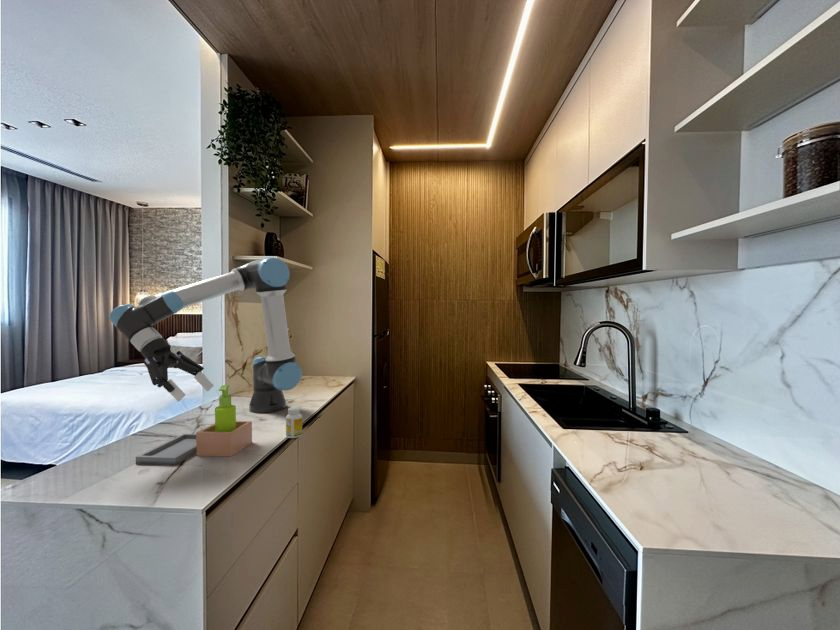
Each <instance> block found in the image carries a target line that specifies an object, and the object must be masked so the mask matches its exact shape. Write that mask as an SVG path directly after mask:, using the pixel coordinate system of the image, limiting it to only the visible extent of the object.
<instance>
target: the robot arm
mask: <svg viewBox="0 0 840 630" xmlns="http://www.w3.org/2000/svg"><path fill="white" fill-rule="evenodd" d="M290 274H291V273H290V269H289V266H288V265H287V264H286V262H284V261H283V260H282V259H280V258H277V257H265V258H261V259H256V260H252V261H250V262H248V263H245V264H244V265H240V266H238V267H235V268H232V269H231V271H229V272H227V273H224V274H221V275H217V276H214V277H210V278H208V279H204V280H203V279H202V280H200V281H198V282H194V283H190V284H186V285H184V286H180V287H177V288H174V289H170V290H169V289H168V290H167V291H164V292H161V293H158V294H154V295H149V296H145V297H143V298H142V299H141V300H140V301H139V302H138V305H137V306H135V305H133V304H130V303H124V304H121V305H118V306H116V307H114V308H113V310H111V311H110V312H109V316H108V317H109V318H108V319H109V320H110V322H111V323H112V324H113V325H114V327H115V328H116V330H118V331H119V332H120V333H121V334H122V335H123V336H124V337H125V339H126V340H128V342H130V344H131V345H133V346H134V348H135V349H136V350H137V351H138V352H140V354H141V355H142V356H143V358H144V360H143V364H144V366H145V367H146V369H147V372H148V375H149V377H150V378H149V379H150V380H151V384H152V385H153V386H157V388H162V387H163V388H164V389H165V390H166V391H167V392H168V393H170V395H171V396H172V397H173V398H174V399H175V400H176V402H180V401H181V400H182V399H183V398H184V397H185V396H186V393H185V392H184V391H183V390H182V389H181V388H180V387H179V386H178V385H177V384H176V383H175V381H174V380H172V379H171V378H170V379H169V375H168V373H169V372H168V369H169V368H171V369H172V368H173V369H178V370H180V371H181V370H182V371H183V372H185V373H187V374H190V375H192V376H194V377H193V378H194V379H195V380H196V382H198V383H199V385H201V386H202V388H203V389H204V390H206V392H209V391H210V390H211V389H212V388H213V387H214V383H212V381H210V380H209V378H208V377H207V376H206V375H205V374H204V373H203V370H204V369H205V368H204V367H203V366H202V365H200V364H199V363H197V362H196V361H194V360H192V359H191V358H189V357H187V355H184V353H183V352H181V351H180V350H178V351H177V352H176V353H174V352H173V351H171V344H170V343H169V342H168V341H167V340H166V339H165V338H163V335H162V334H160V332H158V330H157V329H155V328H154V327H153V326H154V325H156V324H157V323H160V322H162V321H164V320H165V319H167V318H169V317H171V316H173V315H174V314H178V312H180V311H181V310H183V309H184V308H187V307H191V306H193V305H197V304H199V303H203V302H205V301H208V300H212V299H214V298H218V297H221V296H224V295H226V294H230V293H232V292H236V291H240V292H243V291H246V290H251V289H255V292H256V294H257V295H258V296H260V299H261V307H262V315H263V323H264V330H265V337H266V339H265V340H266V344H267V354H268V355H267V356H261V357H254V359H252V361H253V362H252V376H253V377H252V379H253V380H252V381H253V382H252V383H253V392H252V396H251V399H250V401H249V405H248V407H249V412H252V413H259V414H261V413H265V414H266V413H272V412H273V411H274V412H277V411H281V410H284V409H285V408H286V407H287V401H286V397H285V394H284V392H283V391H291V390H293V389H294V388H295V387H297V386H298V385H299V383H300V381H301V379H302V375H303V371H302V368H301V367H300V365H299V364H298V363H296V355H295V353H293V352H292V351H291V346H290V345H291V344H290V338H289V329H288V322H287V313H286V306H285V299H284V298H285V296H284V294H285V293H286V292H287V283H288V282H289V280H290ZM274 412H273V413H274Z"/></svg>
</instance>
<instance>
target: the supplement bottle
mask: <svg viewBox="0 0 840 630" xmlns="http://www.w3.org/2000/svg"><path fill="white" fill-rule="evenodd" d="M287 413H288V414H287V415H286V416H285V436H286V438H287V439H296V438H300V437H302V435H303V414H302V413H301V407H299V406H293V407H292V406H291V407H288V409H287Z"/></svg>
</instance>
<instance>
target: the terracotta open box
mask: <svg viewBox="0 0 840 630" xmlns="http://www.w3.org/2000/svg"><path fill="white" fill-rule="evenodd" d="M195 434H196V446H197V453H196V456H200V457H201V456H202V457H203V456H204V457H205V456H206V457H211V456H212V457H234V455H236V454H238V453H239V452H240V451H242V450H243V449H244V448H246V447H247V446H249V445H250V444H251V442H252V443H253V436H252V435H253V422H252V421H251V420H236V429H235V430H233V431H231V432H215V422H214V423H213V424H211V425H208V426H207V427H204V428H202V429H200V430H199V431H197V432H196V433H195ZM241 449H242V450H241Z"/></svg>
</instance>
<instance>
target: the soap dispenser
mask: <svg viewBox="0 0 840 630" xmlns="http://www.w3.org/2000/svg"><path fill="white" fill-rule="evenodd" d="M229 387H230V385H229V384H226V385H225V384H224V385H221V386H220V387H219V389H218V391H219V392H220V391H221V395H220V396H219V397H218V400H219V401H218V403H219V405H218V406H217V407H215V408H214V423H215V432H231V431H233V430H235V429H236V421H237V415H236V414H237V413H236V409H237V408H236V405H234V404H232V395H231V394H229Z"/></svg>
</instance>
